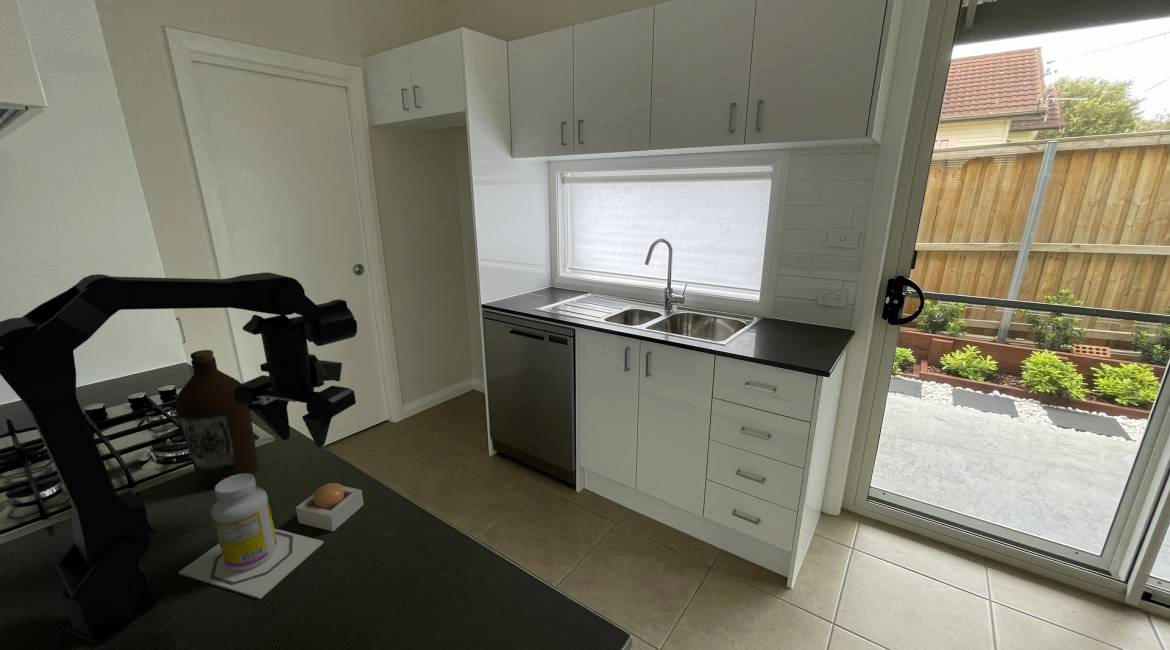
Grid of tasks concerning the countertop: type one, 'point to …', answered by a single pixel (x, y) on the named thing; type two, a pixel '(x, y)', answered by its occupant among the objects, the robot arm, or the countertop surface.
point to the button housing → (330, 518)
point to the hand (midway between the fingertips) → (303, 442)
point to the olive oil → (215, 423)
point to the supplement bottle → (243, 522)
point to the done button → (328, 496)
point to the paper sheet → (257, 578)
